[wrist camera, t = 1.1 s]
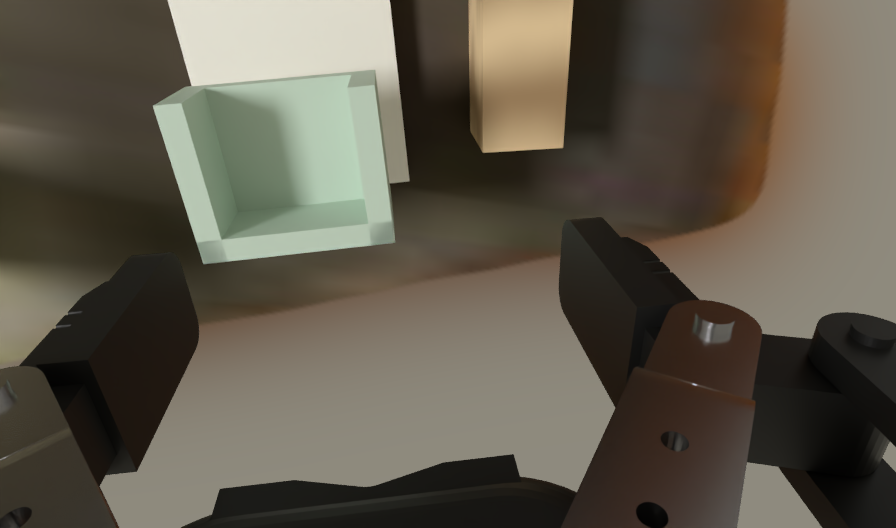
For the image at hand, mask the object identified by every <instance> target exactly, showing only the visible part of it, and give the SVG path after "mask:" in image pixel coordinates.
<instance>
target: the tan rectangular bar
mask: <svg viewBox="0 0 896 528" xmlns="http://www.w3.org/2000/svg"><path fill="white" fill-rule="evenodd" d="M572 12H573V0H469V77H470V132H471V134H472V135H473V137H474V139H475V140H476V142H477V144H478V145H479V147H480V149H481V150H482V152H483V153H489V152H505V151H521V150H537V149H553V148H563V141H564V127H565V113H566V98H567V84H568V70H569V55H570V41H571V26H572Z"/></svg>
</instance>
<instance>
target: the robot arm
mask: <svg viewBox="0 0 896 528" xmlns="http://www.w3.org/2000/svg"><path fill="white" fill-rule="evenodd" d="M559 296H560V302H561V307H562V310H563V312H564V314H565V316H566V318H567V320H568V322H569V323H570V325H571V327H572V329H573V331H574V333H575V334H576V336H577V338H578V340H579V342H580V344H581V345H582V347H583V349H584V351H585V353H586V355H587V356H588V358H589V360H590V362H591V364H592V365H593V367H594V369H595V371H596V373H597V375H598V377H599V378H600V380H601V382H602V384H603V386H604V388H605V389H606V391H607V393H608V395H609V397H610V399H611V400H612V402H613V404H614V406H615V411H614V413H613V415H612V417H611V419H610V421H609V424H608V426H607V428H606V430H605V432H604V434H603V437H602V439H601V441H600V443H599V445H598V448H597V450H596V452H595V454H594V457H593V458H592V461H591V463H590V465H589V467H588V469H587V472H586V474H585V476H584V478H583V481H582V483H581V485H580V487H579V489H578V492H575V491H572V490H570V489H568V488H565V487H562V486H559V485H556V484H553V483H550V482H547V481H542V480H537V479H532V478H526V477H520V476H519V472H518V469H517V465H516V461H515V458H514V455H513V454H512V455H504V456H496V457H487V458H478V459H470V460H462V461H453V462H445V463H441V464H438V465H435V466H432V467H429V468H427V469H423V470H420V471H417V472H414V473H411V474H409V475H406V476H403V477H400V478H397V479H394V480H391V481H388V482H385V483H382V484H379V485H376V486H371V487H357V486H347V485H337V484H327V483H317V482H307V481H297V480H292V481H284V482H276V483H267V484H259V485H250V486H241V487H233V488H224V489H220V490H219V493H218V497H217V500H216V504H215V507H214V510H213V513H212V515H210V516H207V517H204V518H201V519H199V520H197V521H195V522H192V523H190V524H188V525H185V526H183V527H181V528H737V524H738V517H739V511H740V504H741V498H742V490H743V484H744V478H745V471H746V465H747V462H750V463H757V464H765V465H771V466H778V467H779V468H780V470H781V471H782V473H783V474H784V476H785V477H786V478H787V480H788V481H789V482H790V484H791V485H792V487H793V488H794V489H795V491H796V492H797V493H798V495H799V496H800V498H801V499H802V500H803V502H804V503H805V504H806V506H807V507H808V509H809V510H810V511H811V513H812V514H813V515H814V517H815V518H816V519H817V521H818V522H819V524H820V525H821V526H822V528H896V472H895V471H894V470H893V469H892V468H891V467H890V466H889V465H888V464H887V463H886V462H885V461H884V459H883V458H882V457H883V455H884V452H885V450H886V448H887V446H888V444H889V442H892V444H893V445H894V446H895V447H896V324H895V323H893V322H890V321H887V320H884V319H881V318H878V317H874V316H870V315H865V314H859V313H848V312H847V313H832V314H829V315H826V316H824V317H822V318H821V319H820V320H819V322H818V323H817V326H816V329H815V332H814V335H813V338H812V339H805V338H796V337H785V336H775V335H767V334H762V329H761V327H760V325H759V324H758V322H757V321H756V320H755V319H754V318H753V317H751V316H750V315H749V314H747V313H745V312H744V311H742V310H740V309H738V308H735V307H733V306H730V305H727V304H724V303H720V302H715V301H707V300H699V299H698V298H697V297H696V296H695V295H694V294H693V293H692V292H691V291H690V290H689V289H688V288H687V287H686V286H685V285H684V284H683V283H682V282H681V281H680V280H679V278H678V277H677V276H676V275H675V274H674V273H670V269H669V268H668V267H667V266H666V265H665V264H664V263H663V262H660V259H659V258H658V257H657V256H656V255H655V254H654V253H653V252H652V251H651V250H650V249H649V248H648V247H647V246H645V245H643V244H641V243H639V242H637V241H634V240H632V239H630V238H628V237H622V238H621V237H620V236H619V235H618V234H617V233H616V232H615V231H614V230H613V229H612V227H611V226H610V225H609V224H608V223H607V222H606V221H605V220H604V219H603V218H602V217H596V218H584V219H572V220H566V221H565V223H564V225H563V230H562V242H561V258H560V274H559ZM198 339H199V325H198V319H197V315H196V312H195V309H194V305H193V302H192V299H191V296H190V292H189V289H188V286H187V283H186V279H185V276H184V273H183V270H182V266H181V263H180V261H179V259H178V257H177V256H176V255H175V254H174V253H172V252H170V253H158V254H146V255H134V256H131V257H130V258H129V259H128V260H127V261H126V262H125V263H124V264H123V265H122V267H121V268H120V269H119V270H118V271H117V272H116V273H115V275H114V276H113V277H112V278H111V279H110V280H109V281H108V282H105V283H103V284H101V285H100V286H98V287H97V288H95V289H93V290H92V291H90V292H88V293H87V294H85V295H84V296H82V297H81V298H80V299H79V301H78V302H77V303H76V304H75V305H74V306H73V307H72V308H71V309H70V310H69V312H68V315H65V316H64V317H63V318H62V319H61V320H60V321H59V323H58V324H57V325H56V329H52V330H51V331H50V332H49V334H48V335H47V336H46V337H45V338H44V339H43V340H42V341H41V342H40V343H39V344H38V346H37V347H36V348H35V349H34V350H33V351H32V352H31V353H30V354H29V355H28V357H27V358H26V359H25V360H24V361H23V362H22V363H21V364H20V365H19V366H16V367H8V368H4V369H0V528H119V526H118V524H117V522H116V520H115V518H114V516H113V513H112V511H111V510H110V507H109V505H108V503H107V501H106V499H105V497H104V495H103V493H102V491H101V489H100V487H99V486H100V484H101V482H102V481H103V479H104V477H105V475H110V474H119V473H128V472H137V470H138V468H139V466H140V464H141V462H142V460H143V458H144V455H145V453H146V451H147V449H148V447H149V445H150V443H151V441H152V439H153V437H154V435H155V433H156V431H157V429H158V426H159V424H160V422H161V420H162V418H163V416H164V414H165V412H166V410H167V408H168V406H169V404H170V402H171V400H172V397H173V395H174V393H175V391H176V389H177V387H178V385H179V383H180V381H181V379H182V377H183V375H184V373H185V370H186V368H187V366H188V364H189V362H190V360H191V358H192V356H193V354H194V352H195V350H196V347H197V344H198Z"/></svg>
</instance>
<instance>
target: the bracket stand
mask: <svg viewBox="0 0 896 528" xmlns="http://www.w3.org/2000/svg"><path fill="white" fill-rule="evenodd" d="M168 3H169V7H170V10H171V14H172V17H173V21H174V24H175V28H176V32H177V35H178V39H179V42H180V46H181V49H182V53H183V56H184V60H185V63H186V67H187V71H188V74H189V78H190V81H191V85H192V86H191V87H185V88H183V89H181V90H179V91H178V92H176V93H174V94H172V95H171V96H169V97H167V98H166V99H164V100H162V101H160V102H159V103H157V104H155V105H153V108H154V111H155V114H156V117H157V120H158V123H159V127H160V130H161V133H162V136H163V139H164V142H165V145H166V148H167V152H168V155H169V158H170V161H171V164H172V167H173V170H174V174H175V177H176V180H177V183H178V186H179V189H180V192H181V195H182V199H183V202H184V205H185V208H186V211H187V214H188V217H189V221H190V224H191V227H192V230H193V233H194V236H195V239H196V243H197V246H198V249H199V252H200V255H201V258H202V261H203V264H209V263H218V262H227V261H236V260H245V259H254V258H263V257H272V256H281V255H290V254H298V253H307V252H316V251H325V250H334V249H343V248H352V247H361V246H370V245H379V244H387V243H395V234H394V218H393V209H392V198H391V190H390V183H398V182H408V181H410V180H409V171H408V162H407V153H406V144H405V134H404V125H403V116H402V107H401V98H400V89H399V80H398V70H397V61H396V52H395V43H394V34H393V25H392V16H391V6H390V0H168Z"/></svg>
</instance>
